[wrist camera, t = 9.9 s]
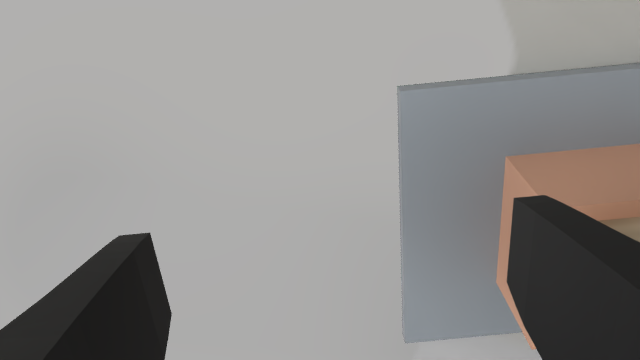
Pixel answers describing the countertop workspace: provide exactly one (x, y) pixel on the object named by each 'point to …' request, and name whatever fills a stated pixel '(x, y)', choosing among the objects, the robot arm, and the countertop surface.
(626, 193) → the base block
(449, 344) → the countertop surface
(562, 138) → the baseplate
